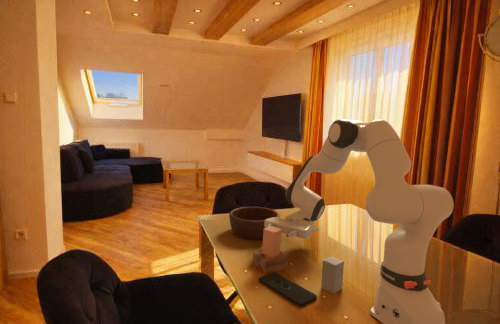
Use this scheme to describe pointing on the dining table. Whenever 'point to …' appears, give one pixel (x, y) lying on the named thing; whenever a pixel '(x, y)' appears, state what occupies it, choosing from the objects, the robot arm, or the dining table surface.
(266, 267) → the walnut base block
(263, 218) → the wooden bowl
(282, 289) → the smart home device
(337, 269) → the grey block
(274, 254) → the terracotta block
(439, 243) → the dining table surface
